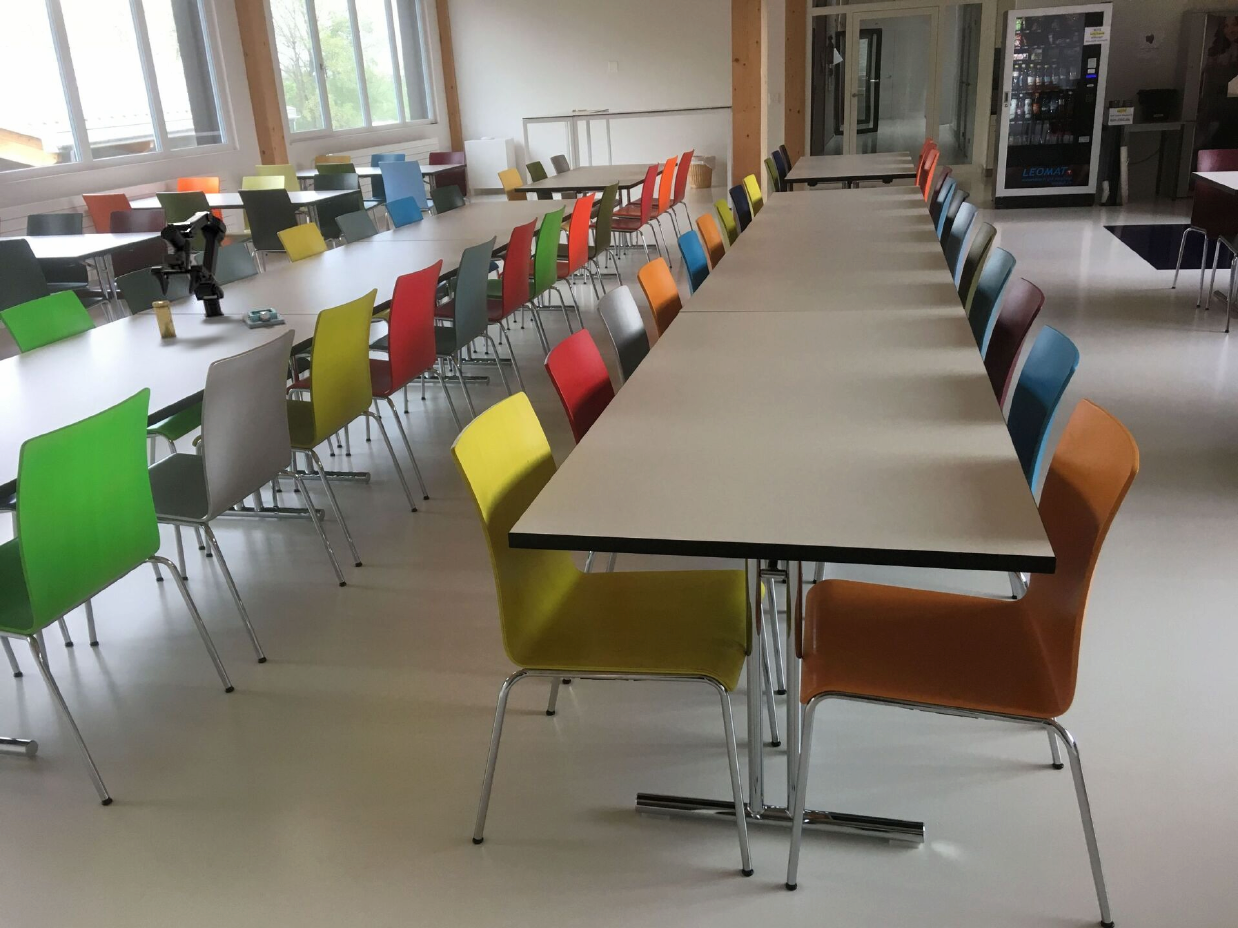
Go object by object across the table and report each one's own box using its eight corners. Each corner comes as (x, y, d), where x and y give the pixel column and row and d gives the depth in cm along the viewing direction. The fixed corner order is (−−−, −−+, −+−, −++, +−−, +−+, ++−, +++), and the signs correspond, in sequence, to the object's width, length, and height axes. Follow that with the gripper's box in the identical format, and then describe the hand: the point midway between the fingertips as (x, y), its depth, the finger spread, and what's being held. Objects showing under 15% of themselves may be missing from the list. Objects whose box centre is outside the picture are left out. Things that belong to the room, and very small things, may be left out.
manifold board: (242, 319, 353) (240, 307, 352) (276, 314, 358) (274, 302, 357) (249, 328, 338) (247, 316, 337) (284, 323, 343) (282, 310, 342)
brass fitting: (159, 336, 335) (151, 302, 331) (176, 333, 338) (168, 299, 333) (160, 339, 331) (152, 304, 326) (177, 336, 333) (169, 302, 329)
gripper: (144, 244, 334) (138, 285, 329) (196, 241, 333) (192, 282, 329) (160, 260, 345) (155, 299, 340) (211, 258, 344) (207, 297, 339)
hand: (177, 294), depth 337 cm, fingers open, 9 cm apart
